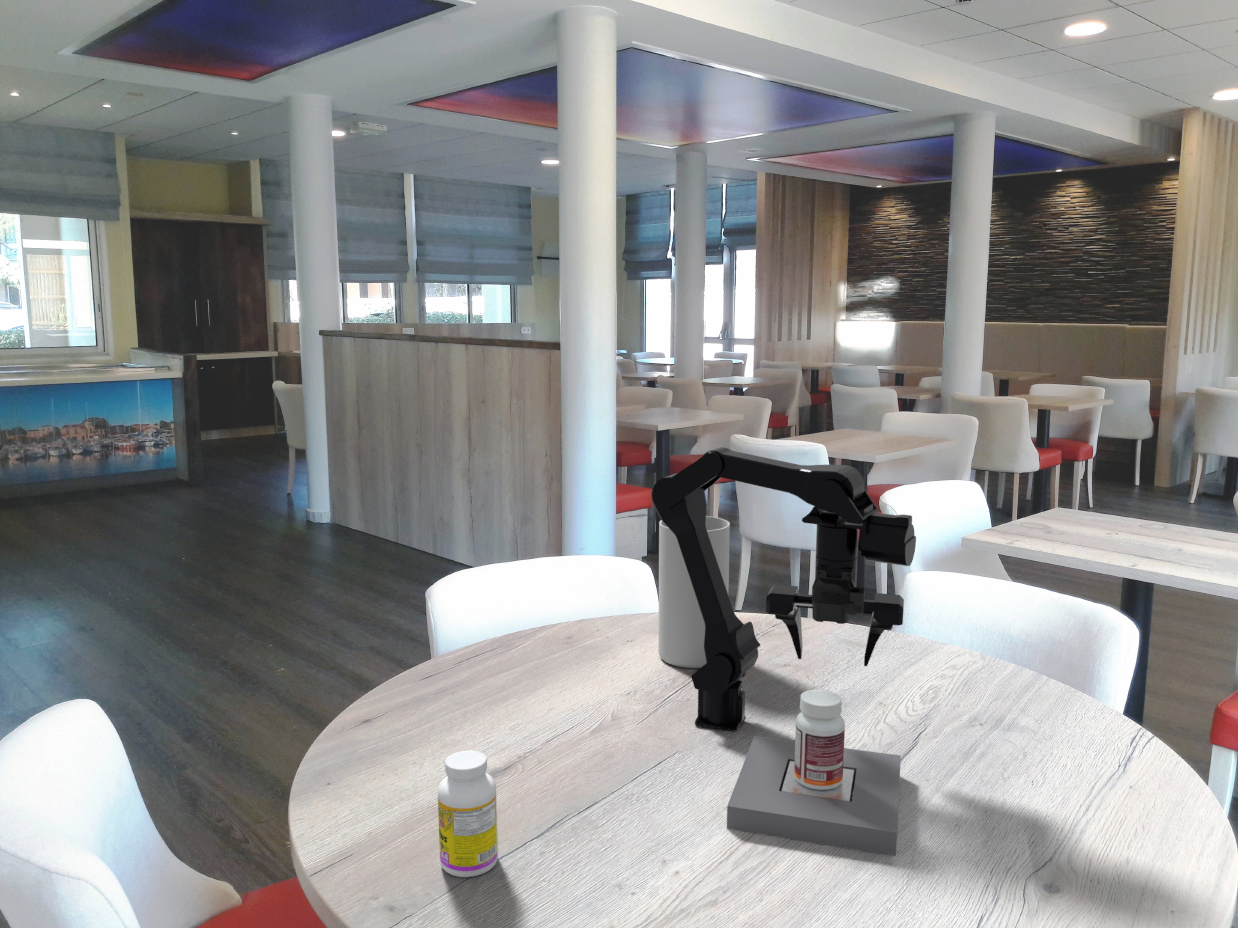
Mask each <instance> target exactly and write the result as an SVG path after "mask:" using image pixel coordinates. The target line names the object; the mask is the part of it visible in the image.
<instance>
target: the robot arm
mask: <svg viewBox="0 0 1238 928" xmlns="http://www.w3.org/2000/svg"><path fill="white" fill-rule="evenodd" d="M720 479H726V480H729V481H735V482H739V483H743V484H747V485H754V486H757V487H761V488H766V489H770V490H774V491H780V492H783V493H787V494H790V495H793V496H796V497H797V498H799V499H800V500H802V501H803V502H805V503H807V504H808V505H811V506H813V507H812V509H811V511H809V513H807V514H805V516H804V517H802V518H801V522H802V523H803V524H812V525H816V536H815V537H816V538H815V543H816V544H815V563H814V564H815V566H814V567H815V569H814V581H813V584H812V587H811V594H806V593H799V586H797V585H786V584H774V585H773V586H772V587H770V589H769V591H768V593H767V595H766V599H765V600H766V601H765V612H766V613H767V614H772V615H774V618H775V619H776V620H781V621H782V622H783V623H784V624H785V626H786V628H787V629H788V632H789V635H790V637H791V640H792V644H793V646H794V649H795V653H796V656H797V659H798V660H802V659H803V658H802V657H803V631H802V614H801V608H802V609H812V613H811V614H812V620H814V621H815V622H818V623H824V622H829V623H837V625H839V624H840V625H845V624H847V623H848V622H849V620H850V619H849V618H850V615H855V616H856V615H857V614H858V615H863V614H868V615H871V619H870V626H869V629H868V636H867V642H866V645H865V651H864V658H863V659H864V661H863V666H864V667H868V665H869V662H870V660H871V658H872V655H873V653H874V650H875V647H876V645H877V643H878V641H879V638H880V637H881V636H882V634H883V633H884V631H885V630H886V631H891V630H892V629H893V627H894V626H902V625H903V624H904V607H905V606H904V604H905V599H904V598H903V596H902V595H901V594H894V593H890V594H889V593H879V592H875V593H874V594H875V596H874V599H873V600H872V599H865V596H866V595H865V594H866V593H865V592H866V591H865V587H861V586H860V587H859V586H858V587H857V577H858V576H857V575H858V574H857V573H858V551H859V552H860V556H861V557H865V560H866V561H867V562H874V563H882V564H889V565H895V566H897V565H898V566H903V567H910V566H911V565H912V563H913V560H914V556H915V552H916V547H917V546H916V543H917V535H915V527H914V525H913V516H912V515H911V514H887V513H879V512H880V510H879V508H878V506H877V504H875V502H874V500H873V499H872V498H871V496H870V494H869V493H868V492H867V490H866V488H865V481H864V477H863V476H862V474H861V473H860V472H859V470H858V469H857V468H856V467H853V466H852V465H847V464H810V465H809V464H808V465H807V464H805V465H804V464H796V463H793V462H787V461H783V460H779V459H774V458H768V457H764V456H759V455H753V454H749V453H745V452H741V451H735V450H732V449H729V448H727V447H717V448H714V449H710V450H707V451H706V452H705V453H704V454H703V455H702V456H701V457H700V458H699V459H697V460H696V461H694V462H692V463H691V464H690V465H688V466H686V467H685V468H683V469H682V470H680V471H678V472H677V473H673V474H670V475H667V476H663V477H662V478H660V479H658V480H657V481H656V482H655V484H654V485H653V487H652V490H651V494H650V496H651V500H652V504H653V505H654V508H655V509H656V510H655V511H656V513H657V514H658V516H659V518H660V521H661V520H662V521H663V523H664V524H665V525H666V526H667V527H668V528H669V529H670V530H671V531H672V532H673V533H674V535H675V536H676V538H677V541H678V544H679V547H680V550H681V553H682V556H683V560H684V563H685V566H686V569H687V572H688V575H689V578H690V581H691V584H692V587H693V590H694V593H695V596H696V599H697V602H698V605H699V608H700V611H701V614H702V617H703V620H704V623H705V634H704V652H705V658H706V664H705V665H704V666H702V667H701V668H698V669H697V670H696V671H695V672H694V673H692V674H691V681H692V684H693V687H694V689H695V690H697V717H696V719H695V721H694V726H697V727H703V728H711V729H719V730H726V731H738V729H739V726H740V724H741V723H742V722H743V721H744V719H745V717H746V712H745V711H746V692H745V690H742V689H743V681H742V680H741V679H742V678H744V677H745V676H746V673H747V672H748V671H749V670H750V669H752V668H753V667H754V666H755V664H756V662H757V661H758V659H759V649H758V648H760V647H761V643H760V642H759V641H758V639H757V637H756V633H755V629H754V624H753V623H752V621H747V622H746V623H743V622H742V620H740V619H739V617H737V615H736V614H735V611H734V608H733V606H732V603H731V599H730V596H729V594H728V593H727V590H726V587H725V584H724V581H723V578H722V575H721V572H720V569H719V566H718V563H717V560H716V557H715V554H714V551H713V548H712V545H711V542H710V539H709V536H708V533H707V530H706V525H705V522H706V516H707V505H708V504H707V499H706V493H705V491H706V490H708V489H710V488H711V487H712V486H713V485H714V484H716V483H717V482H719V480H720Z"/></svg>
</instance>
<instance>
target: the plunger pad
mask: <svg viewBox="0 0 1238 928" xmlns="http://www.w3.org/2000/svg"><path fill="white" fill-rule="evenodd" d="M794 768H795V762H793V761H790V763H789V766H788V770H787V773H786V777H785V780H784V784H783V787H782V792H788V793H795V794H802V795H809V796H815V797H822V798H829V799H835V800H842V801H849V802H852V798H853V791H854V789H853V785H854V770H851V769H844V768H843V779H842V783H841V784H840V785H839V786H838V787H836V788H833V789H827V790H817V789H811V788H808V787H805V786H803V785H802V784H800V783H799V782H798V781H797V780H796V778H795V774H794V773H795V772H794Z"/></svg>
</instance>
